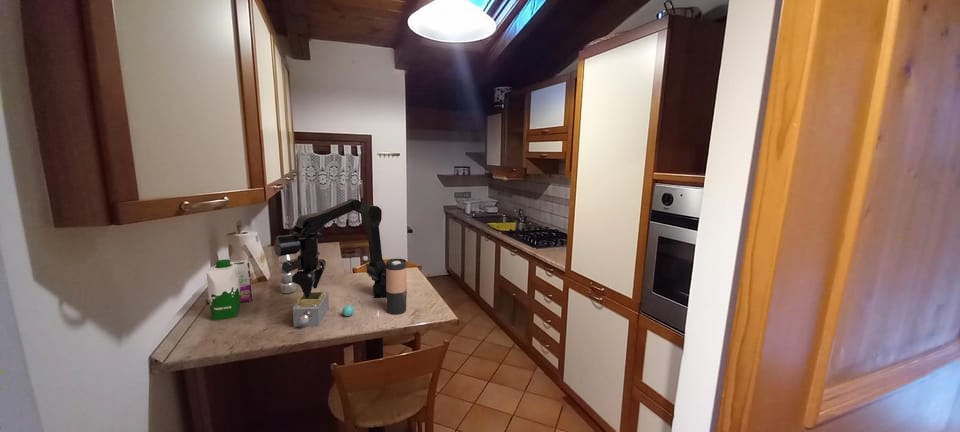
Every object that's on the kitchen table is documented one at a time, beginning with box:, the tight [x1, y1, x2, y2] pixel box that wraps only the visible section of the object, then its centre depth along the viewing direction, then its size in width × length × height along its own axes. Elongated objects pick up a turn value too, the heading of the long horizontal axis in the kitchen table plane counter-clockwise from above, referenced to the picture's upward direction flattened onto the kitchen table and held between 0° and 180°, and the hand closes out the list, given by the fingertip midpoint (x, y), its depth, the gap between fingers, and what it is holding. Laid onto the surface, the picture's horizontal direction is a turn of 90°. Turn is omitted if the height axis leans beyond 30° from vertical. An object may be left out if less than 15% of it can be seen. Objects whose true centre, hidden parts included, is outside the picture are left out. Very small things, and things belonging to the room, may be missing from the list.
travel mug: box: [385, 258, 408, 316], centre depth 129 cm, size 8×8×20 cm
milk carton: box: [206, 258, 241, 321], centre depth 122 cm, size 9×9×20 cm
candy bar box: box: [214, 259, 254, 303], centre depth 134 cm, size 11×5×16 cm, turn 123°
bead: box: [341, 304, 355, 317], centre depth 125 cm, size 4×4×4 cm
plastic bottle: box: [278, 254, 298, 294], centre depth 145 cm, size 6×7×20 cm
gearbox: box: [292, 290, 330, 328], centre depth 121 cm, size 8×16×8 cm, turn 11°
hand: (311, 292), depth 122 cm, fingers open, 9 cm apart
